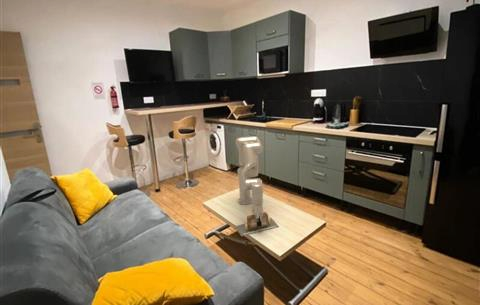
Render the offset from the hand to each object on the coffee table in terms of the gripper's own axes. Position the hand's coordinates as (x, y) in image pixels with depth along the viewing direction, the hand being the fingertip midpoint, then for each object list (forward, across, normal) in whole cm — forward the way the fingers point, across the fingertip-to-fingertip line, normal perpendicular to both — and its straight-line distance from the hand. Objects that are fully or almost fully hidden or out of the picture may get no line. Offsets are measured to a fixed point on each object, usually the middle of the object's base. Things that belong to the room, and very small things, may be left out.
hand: (257, 224), depth 165 cm
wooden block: (+1, 0, 0) cm, 1 cm away
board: (+4, -1, 0) cm, 4 cm away
